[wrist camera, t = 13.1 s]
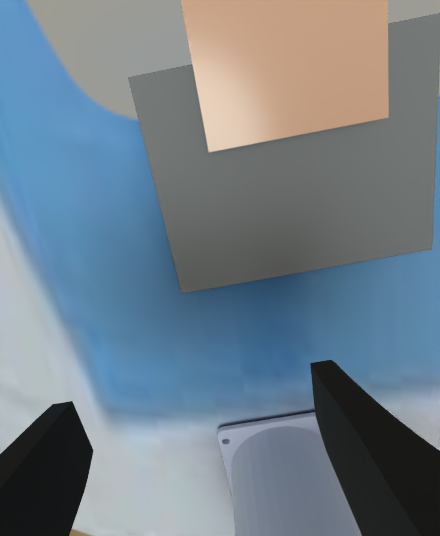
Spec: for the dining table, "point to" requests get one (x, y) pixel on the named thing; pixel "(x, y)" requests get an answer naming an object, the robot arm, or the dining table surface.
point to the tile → (286, 66)
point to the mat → (296, 177)
